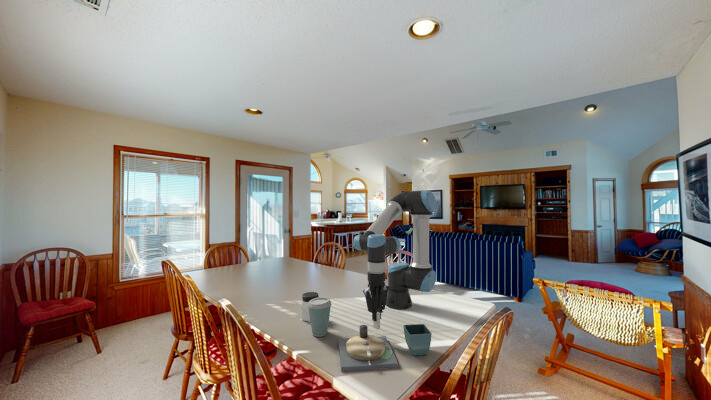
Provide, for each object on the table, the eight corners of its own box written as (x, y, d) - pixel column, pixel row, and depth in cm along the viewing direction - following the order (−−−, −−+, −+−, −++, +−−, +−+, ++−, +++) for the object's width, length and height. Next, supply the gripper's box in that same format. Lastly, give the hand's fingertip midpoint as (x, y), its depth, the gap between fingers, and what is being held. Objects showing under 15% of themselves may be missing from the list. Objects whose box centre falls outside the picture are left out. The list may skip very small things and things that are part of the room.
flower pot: (403, 346, 110) (402, 324, 111) (424, 345, 111) (424, 323, 111) (409, 359, 102) (409, 334, 102) (432, 357, 102) (432, 333, 103)
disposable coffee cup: (311, 341, 115) (310, 305, 115) (305, 330, 125) (304, 297, 125) (334, 336, 119) (334, 301, 120) (327, 326, 129) (327, 294, 130)
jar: (305, 323, 133) (305, 298, 133) (299, 317, 140) (298, 293, 140) (322, 318, 138) (322, 294, 138) (315, 313, 145) (315, 290, 145)
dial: (390, 361, 97) (390, 344, 97) (348, 364, 96) (348, 346, 96) (381, 338, 114) (380, 323, 114) (344, 340, 112) (344, 325, 112)
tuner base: (385, 339, 116) (385, 335, 116) (398, 367, 96) (398, 362, 96) (338, 342, 114) (338, 338, 114) (341, 371, 94) (341, 366, 94)
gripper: (382, 267, 123) (382, 320, 122) (358, 272, 115) (358, 328, 115) (393, 271, 117) (394, 326, 116) (370, 275, 109) (370, 335, 109)
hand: (376, 327), depth 115 cm, fingers closed
